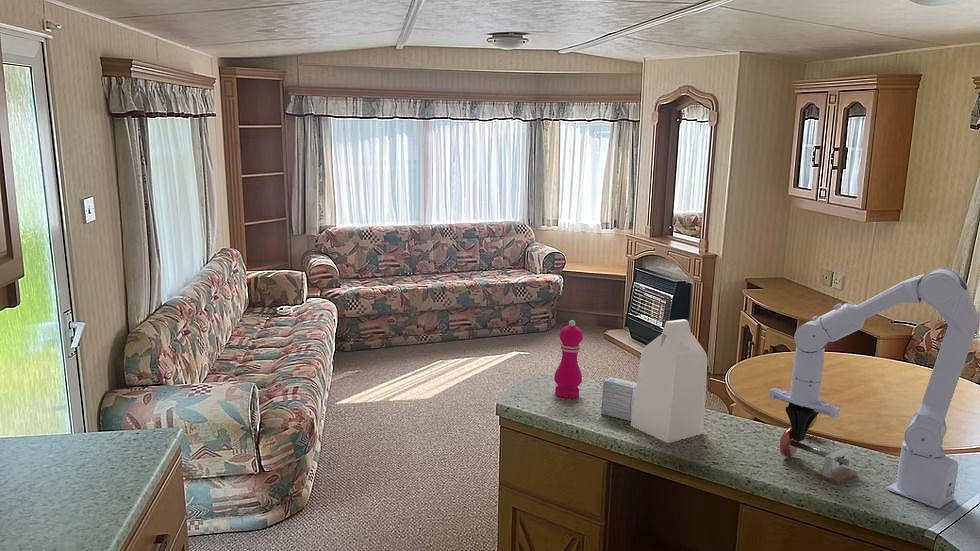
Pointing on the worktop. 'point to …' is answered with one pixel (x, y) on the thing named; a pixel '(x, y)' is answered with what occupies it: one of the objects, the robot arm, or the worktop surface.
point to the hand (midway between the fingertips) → (798, 439)
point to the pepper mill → (569, 362)
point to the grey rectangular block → (618, 398)
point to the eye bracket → (836, 467)
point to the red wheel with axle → (791, 446)
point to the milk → (671, 385)
